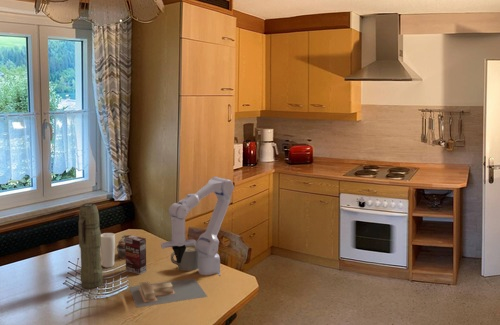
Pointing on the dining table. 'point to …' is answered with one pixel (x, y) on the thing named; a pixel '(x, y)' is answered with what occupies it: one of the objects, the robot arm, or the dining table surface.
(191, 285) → the board
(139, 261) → the supplement box
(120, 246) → the cupcake
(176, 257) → the robot arm
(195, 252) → the coffee mug
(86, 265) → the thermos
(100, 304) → the dining table surface
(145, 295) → the t block
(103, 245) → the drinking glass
